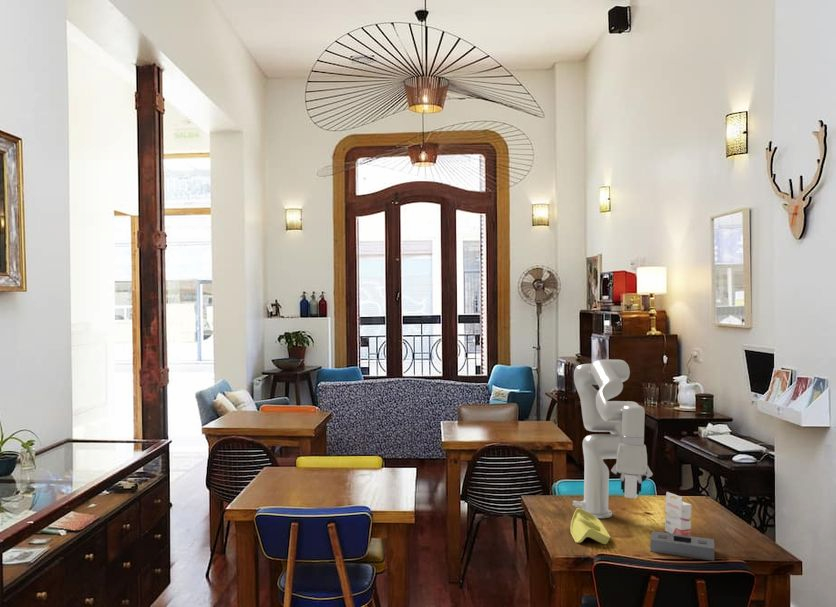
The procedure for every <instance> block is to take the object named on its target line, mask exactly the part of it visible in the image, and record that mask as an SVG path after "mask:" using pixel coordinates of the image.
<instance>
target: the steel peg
mask: <svg viewBox="0 0 836 607" xmlns="http://www.w3.org/2000/svg"><path fill="white" fill-rule="evenodd" d="M637 482H638V476H637V475H634V474H625V492H624V496H623V497H624V498H627V499H628V498H629V499H637V498H638V494H637Z"/></svg>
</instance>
